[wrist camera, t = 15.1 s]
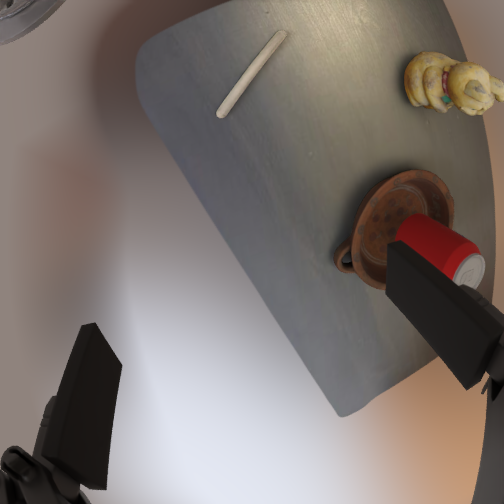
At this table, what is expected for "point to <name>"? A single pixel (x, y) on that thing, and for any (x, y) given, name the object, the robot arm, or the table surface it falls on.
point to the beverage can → (443, 249)
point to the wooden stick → (250, 73)
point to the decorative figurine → (450, 84)
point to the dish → (391, 221)
